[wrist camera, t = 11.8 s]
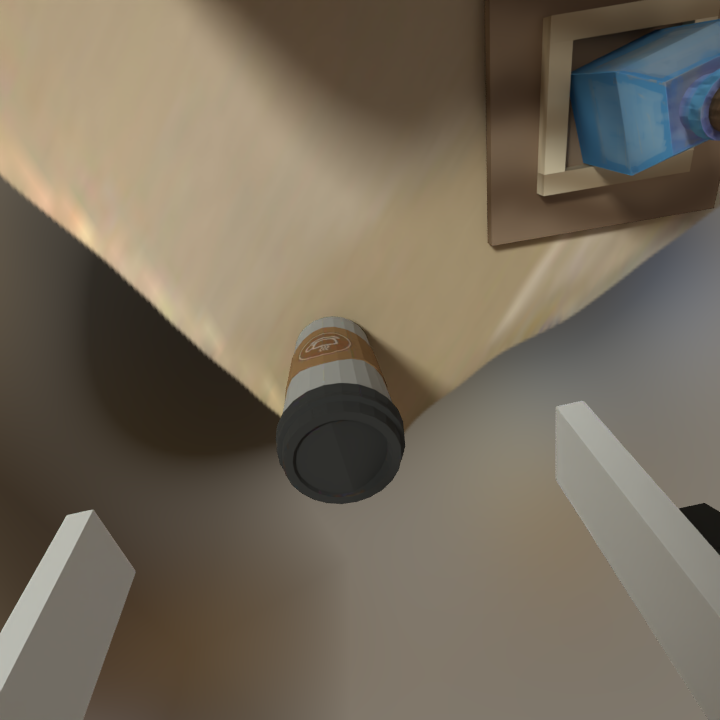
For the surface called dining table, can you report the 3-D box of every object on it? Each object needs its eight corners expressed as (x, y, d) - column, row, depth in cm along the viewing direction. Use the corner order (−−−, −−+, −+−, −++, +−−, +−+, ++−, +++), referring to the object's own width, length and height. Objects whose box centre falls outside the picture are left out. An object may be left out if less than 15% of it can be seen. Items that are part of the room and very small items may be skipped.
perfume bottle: (583, 162, 36) (695, 192, 26) (565, 74, 33) (684, 68, 23) (665, 123, 35) (816, 138, 25) (655, 29, 32) (821, 1, 22)
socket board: (484, -39, 30) (496, -47, 28) (764, -85, 31) (795, -96, 29) (487, 242, 39) (496, 250, 37) (704, 205, 39) (725, 211, 38)
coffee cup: (367, 292, 40) (396, 388, 27) (387, 374, 45) (420, 492, 31) (271, 316, 41) (254, 423, 28) (300, 396, 45) (296, 522, 32)
